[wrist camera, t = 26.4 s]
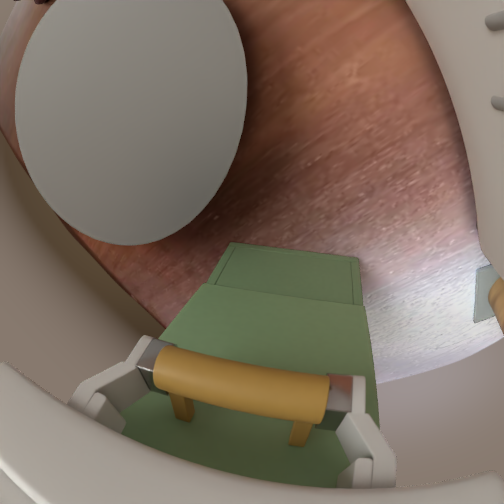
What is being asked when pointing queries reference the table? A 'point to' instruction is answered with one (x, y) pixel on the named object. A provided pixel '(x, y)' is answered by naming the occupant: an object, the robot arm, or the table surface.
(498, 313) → the pepper mill
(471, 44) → the toaster
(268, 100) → the table surface
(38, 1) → the gnome figurine
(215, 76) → the flat disc
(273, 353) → the box lid
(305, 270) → the green box
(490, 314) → the tile
